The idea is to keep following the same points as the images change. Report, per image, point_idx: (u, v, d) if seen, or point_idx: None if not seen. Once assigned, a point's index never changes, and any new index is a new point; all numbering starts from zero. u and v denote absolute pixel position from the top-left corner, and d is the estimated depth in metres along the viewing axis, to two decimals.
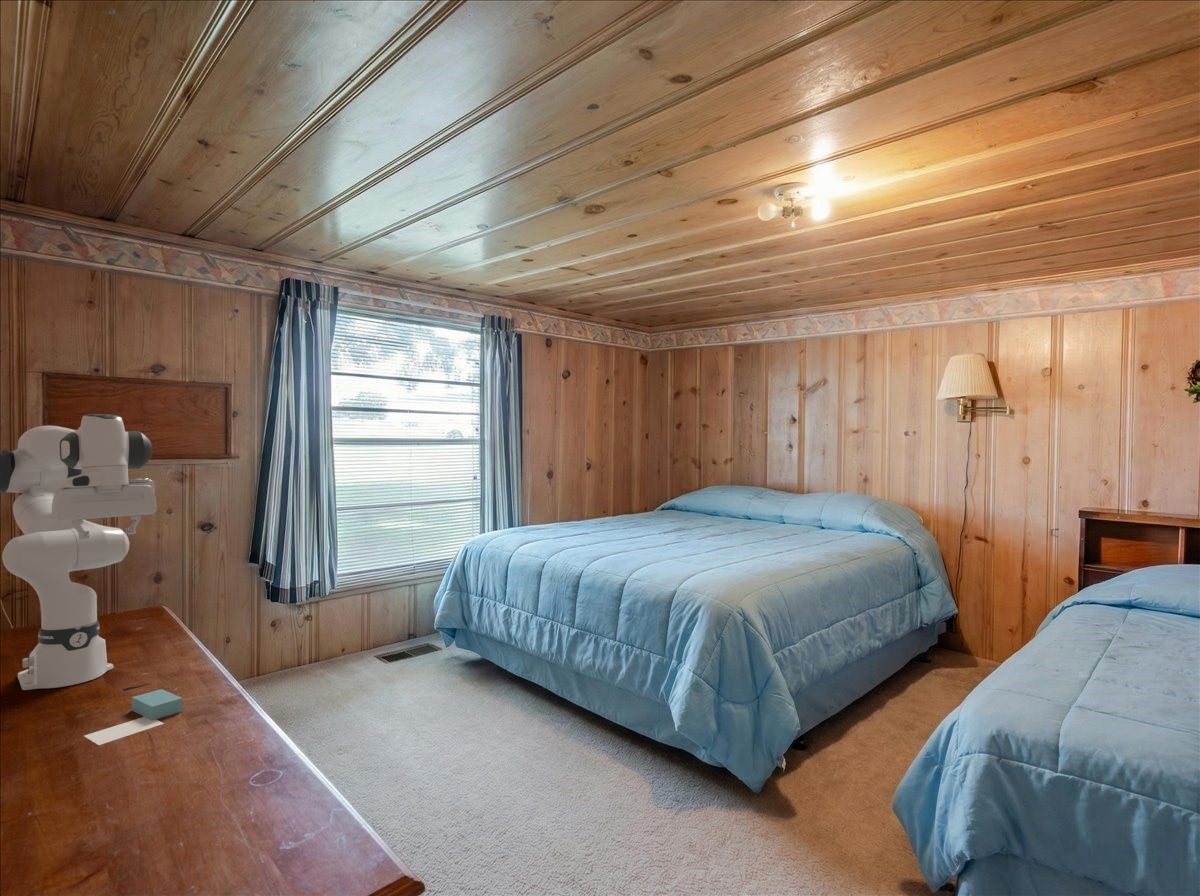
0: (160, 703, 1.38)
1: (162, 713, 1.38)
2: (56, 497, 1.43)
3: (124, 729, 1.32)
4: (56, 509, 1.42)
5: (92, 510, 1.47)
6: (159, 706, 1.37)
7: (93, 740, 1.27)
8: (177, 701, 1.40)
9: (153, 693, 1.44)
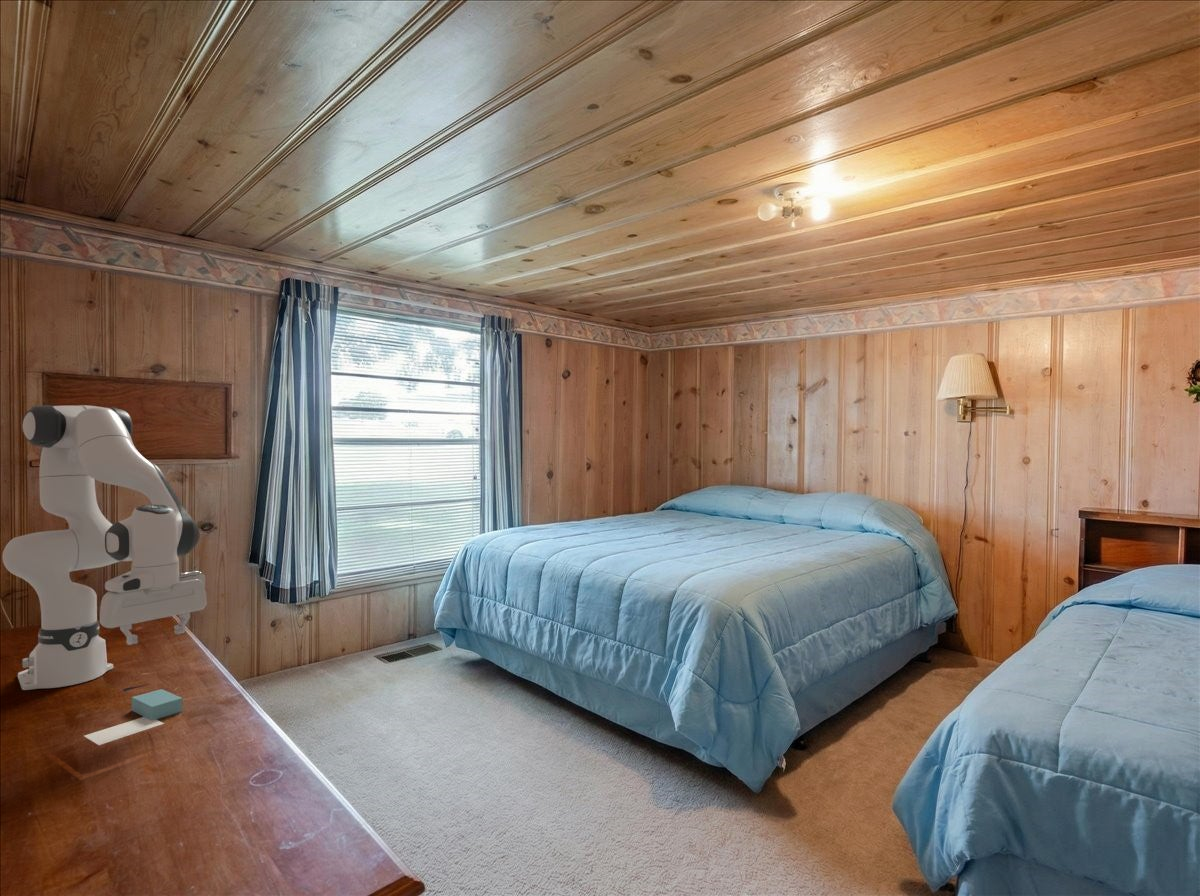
0: (160, 703, 1.38)
1: (162, 713, 1.38)
2: (105, 602, 1.33)
3: (124, 729, 1.32)
4: (105, 615, 1.32)
5: (142, 614, 1.37)
6: (159, 706, 1.37)
7: (93, 740, 1.27)
8: (177, 701, 1.40)
9: (153, 693, 1.44)
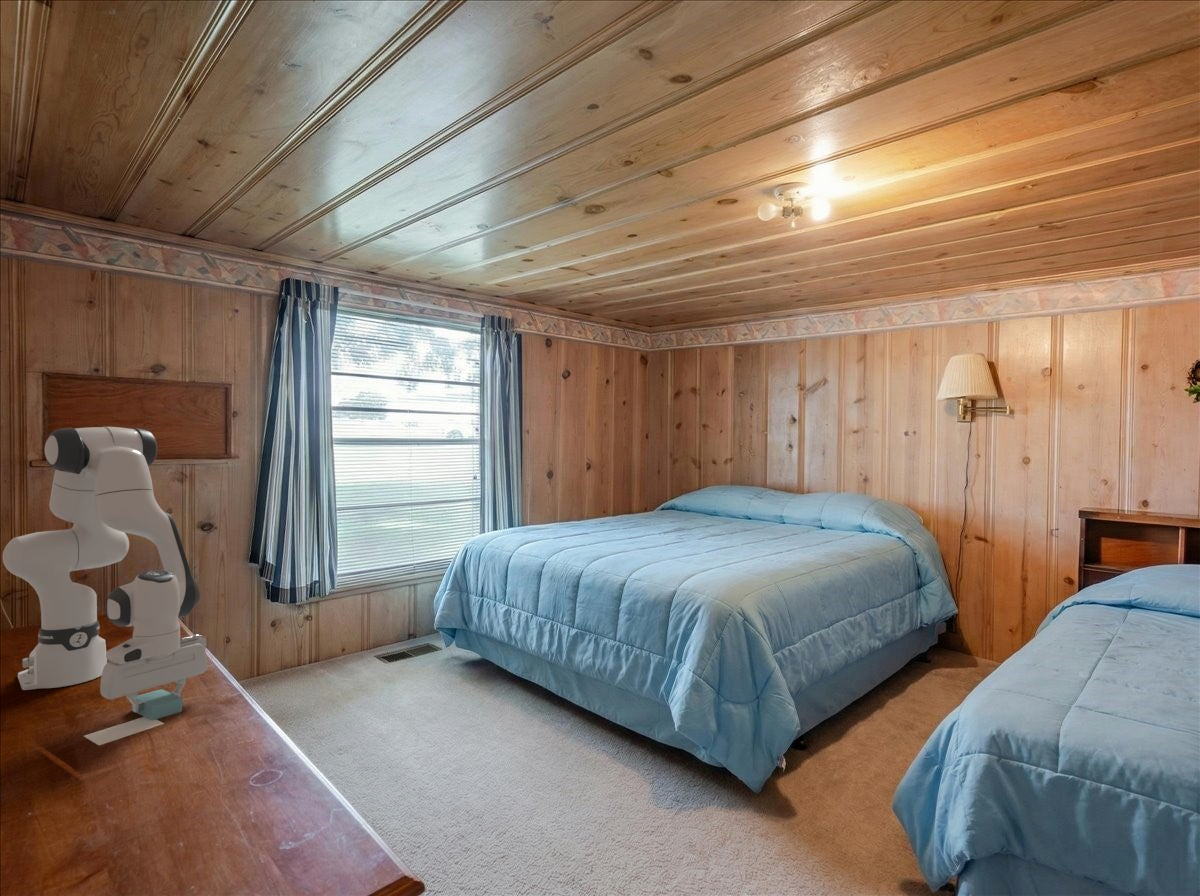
0: (160, 703, 1.38)
1: (162, 713, 1.38)
2: (106, 673, 1.33)
3: (124, 729, 1.32)
4: (106, 687, 1.32)
5: (142, 683, 1.37)
6: (159, 706, 1.37)
7: (93, 740, 1.27)
8: (177, 701, 1.40)
9: (153, 693, 1.44)
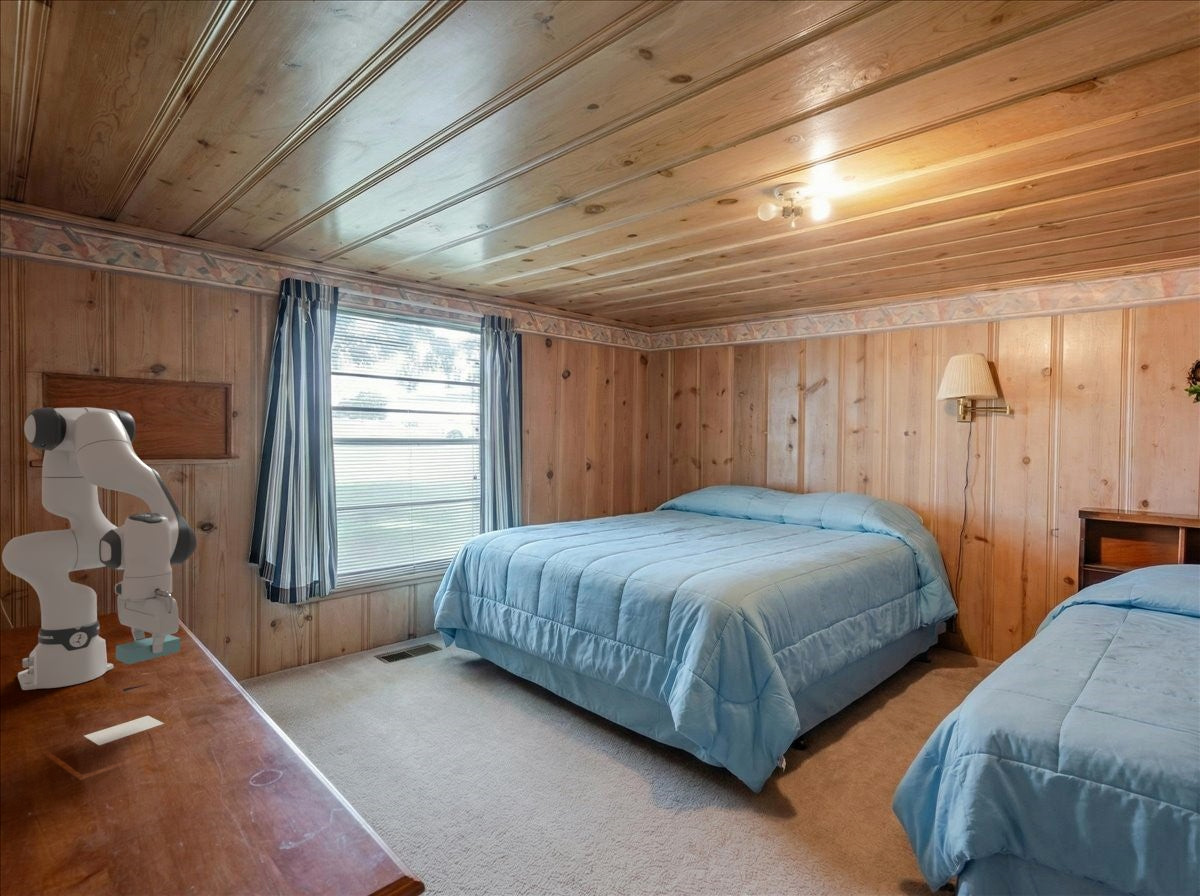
0: (123, 646, 1.35)
1: (120, 657, 1.34)
2: None
3: (124, 729, 1.32)
4: None
5: (131, 620, 1.38)
6: (118, 648, 1.35)
7: (93, 740, 1.27)
8: (126, 651, 1.33)
9: (167, 638, 1.41)
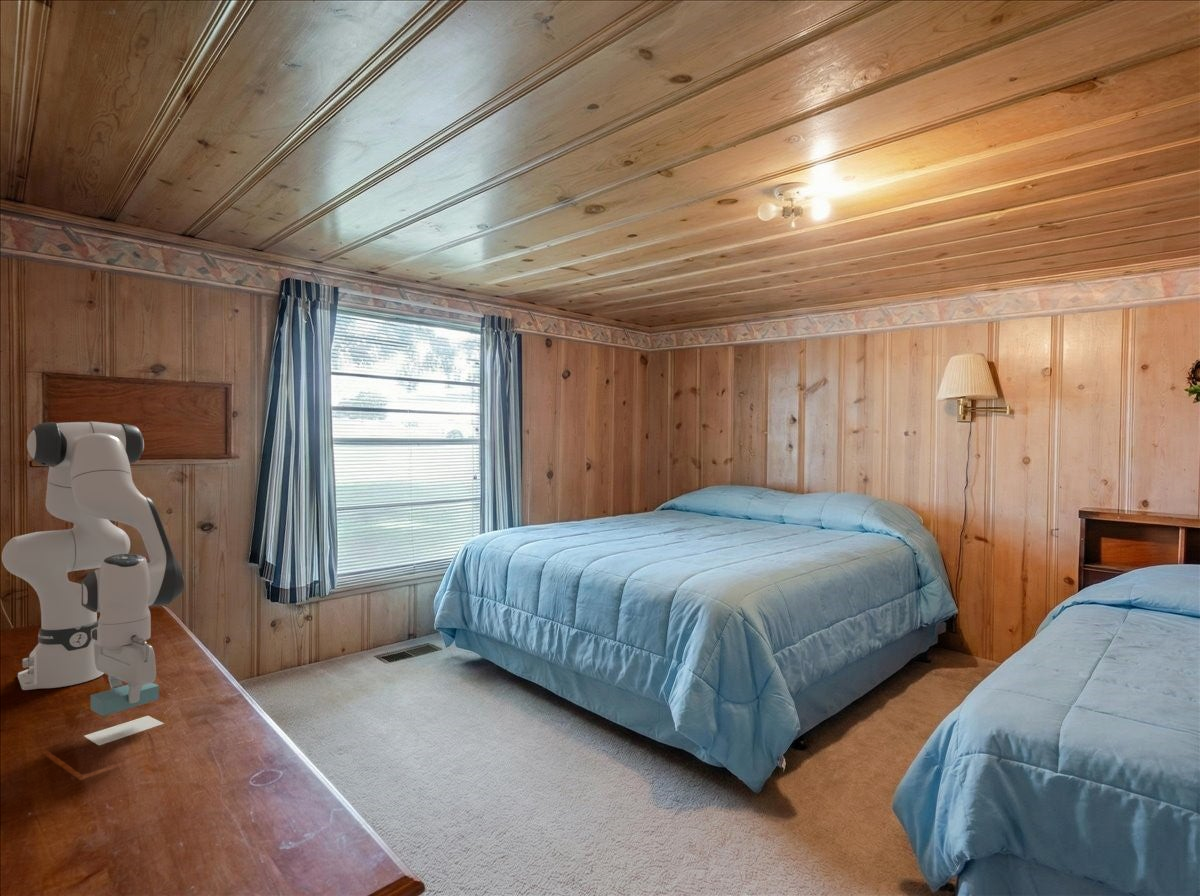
0: (98, 695, 1.29)
1: (94, 707, 1.28)
2: None
3: (124, 729, 1.32)
4: None
5: (107, 667, 1.32)
6: (93, 698, 1.28)
7: (93, 740, 1.27)
8: (100, 702, 1.26)
9: (145, 685, 1.34)
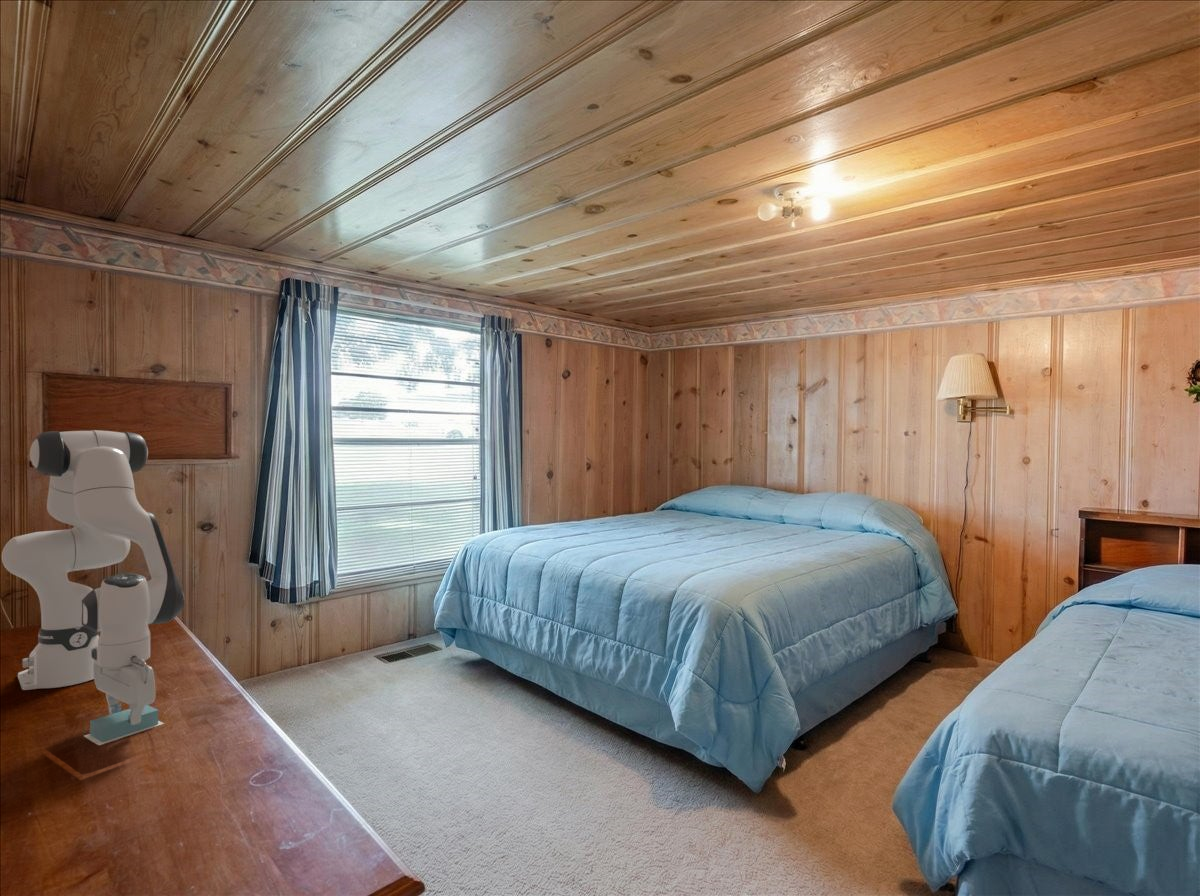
0: (98, 721, 1.29)
1: (94, 733, 1.28)
2: None
3: None
4: None
5: (107, 687, 1.32)
6: (93, 724, 1.28)
7: (93, 740, 1.27)
8: (100, 728, 1.26)
9: (145, 710, 1.34)
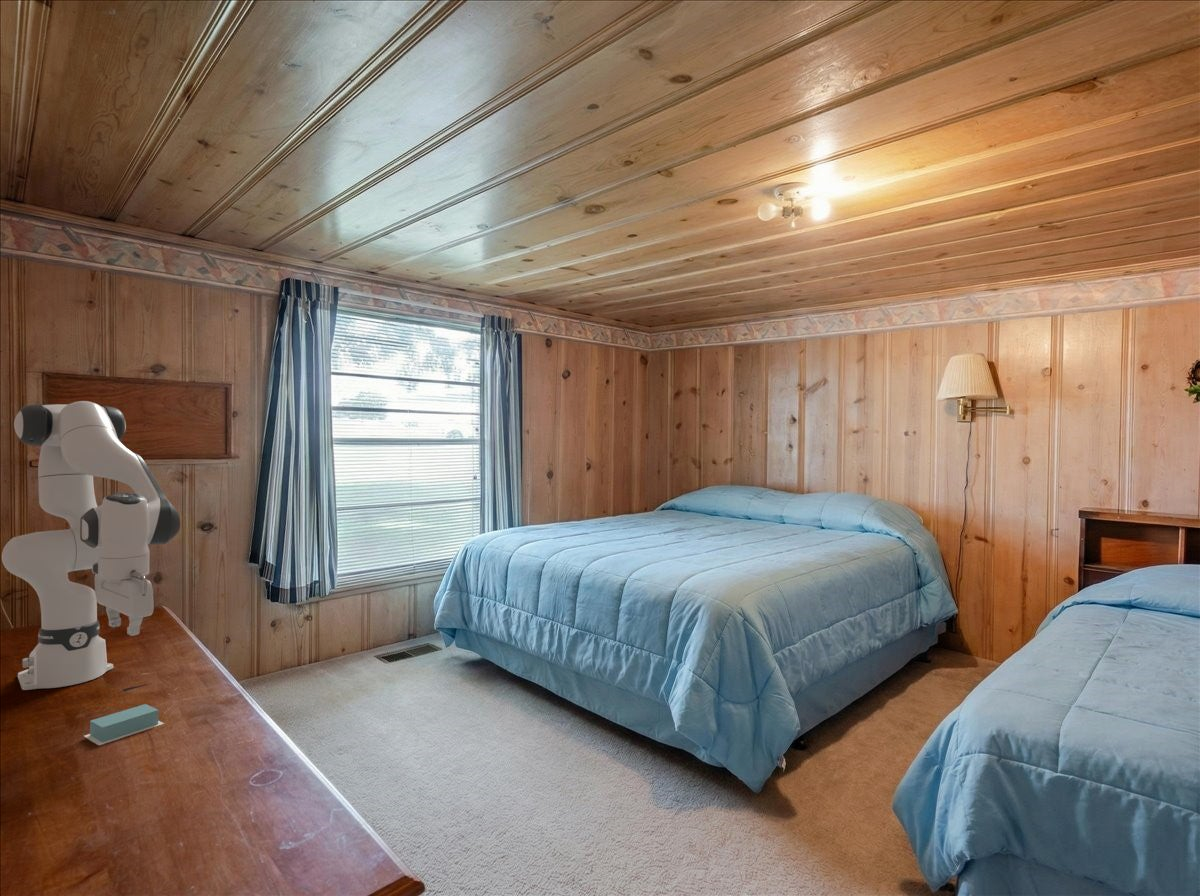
0: (98, 721, 1.29)
1: (94, 733, 1.28)
2: None
3: None
4: None
5: (107, 600, 1.37)
6: (93, 724, 1.28)
7: (93, 740, 1.27)
8: (100, 728, 1.26)
9: (145, 710, 1.34)
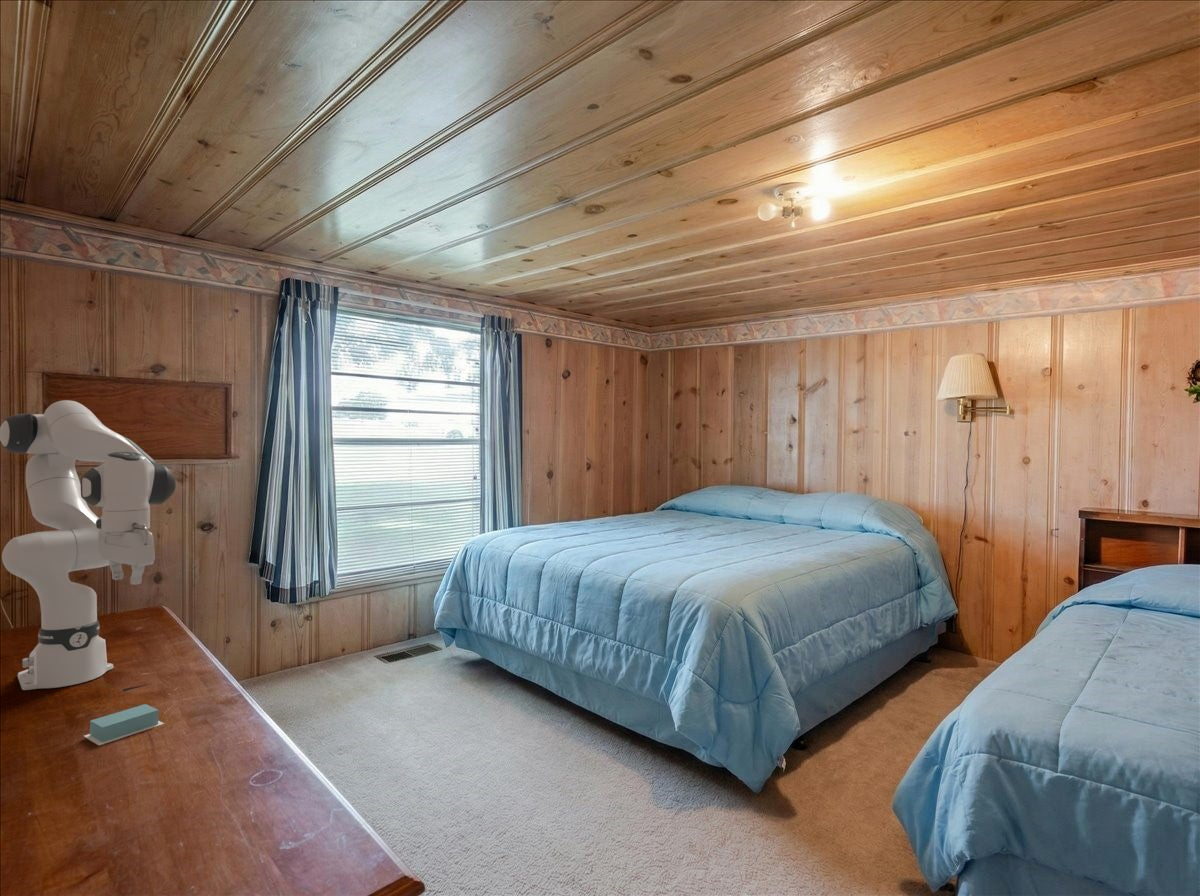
0: (98, 721, 1.29)
1: (94, 733, 1.28)
2: None
3: None
4: None
5: (111, 553, 1.45)
6: (93, 724, 1.28)
7: (93, 740, 1.27)
8: (100, 728, 1.26)
9: (145, 710, 1.34)
